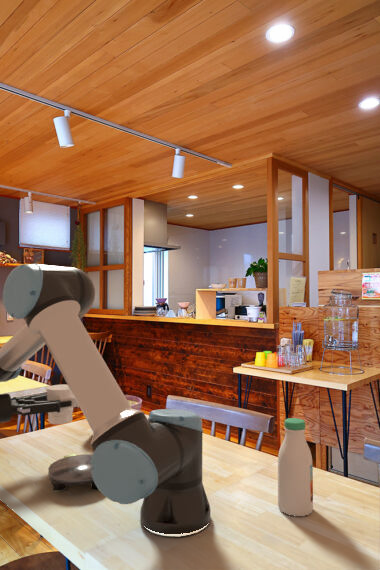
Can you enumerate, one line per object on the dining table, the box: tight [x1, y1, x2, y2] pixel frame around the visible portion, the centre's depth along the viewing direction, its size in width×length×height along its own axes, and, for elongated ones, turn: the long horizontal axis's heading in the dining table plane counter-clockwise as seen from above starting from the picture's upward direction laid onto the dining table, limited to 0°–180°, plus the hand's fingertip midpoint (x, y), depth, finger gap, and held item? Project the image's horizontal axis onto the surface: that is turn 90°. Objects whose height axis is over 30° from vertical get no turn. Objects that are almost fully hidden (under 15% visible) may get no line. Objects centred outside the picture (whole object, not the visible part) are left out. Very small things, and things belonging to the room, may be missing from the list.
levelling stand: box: [47, 453, 100, 492], centre depth 114 cm, size 17×16×4 cm
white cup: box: [46, 383, 74, 425], centre depth 128 cm, size 8×8×10 cm
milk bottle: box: [277, 417, 314, 517], centre depth 99 cm, size 8×8×20 cm
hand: (76, 398), depth 131 cm, fingers closed on white cup, 7 cm apart
